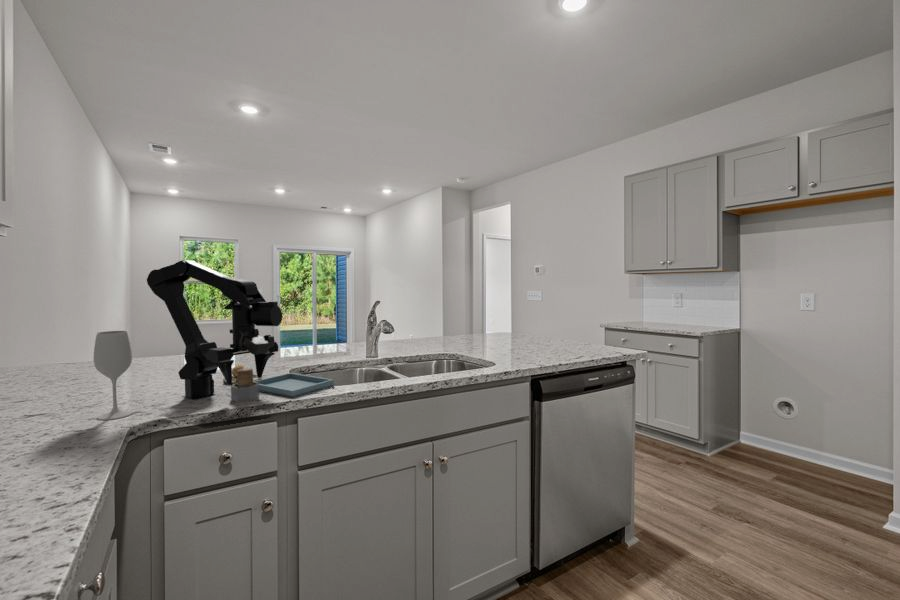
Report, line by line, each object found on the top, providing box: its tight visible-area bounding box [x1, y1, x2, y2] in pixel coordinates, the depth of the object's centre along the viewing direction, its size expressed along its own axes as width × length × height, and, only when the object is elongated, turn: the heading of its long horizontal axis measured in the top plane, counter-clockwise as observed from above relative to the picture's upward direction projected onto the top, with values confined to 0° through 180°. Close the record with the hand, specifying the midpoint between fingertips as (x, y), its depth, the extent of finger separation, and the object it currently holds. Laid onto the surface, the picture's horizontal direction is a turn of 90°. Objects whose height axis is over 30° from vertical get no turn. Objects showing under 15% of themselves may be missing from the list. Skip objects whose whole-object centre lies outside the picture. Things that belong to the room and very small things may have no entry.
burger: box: [222, 364, 263, 386], centre depth 145 cm, size 12×12×8 cm
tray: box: [253, 372, 335, 399], centre depth 137 cm, size 16×20×2 cm
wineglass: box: [93, 330, 134, 421], centre depth 110 cm, size 8×8×21 cm
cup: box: [230, 382, 260, 403], centre depth 124 cm, size 7×7×4 cm
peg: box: [237, 368, 254, 387], centre depth 124 cm, size 4×4×8 cm
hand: (245, 380), depth 124 cm, fingers open, 9 cm apart
